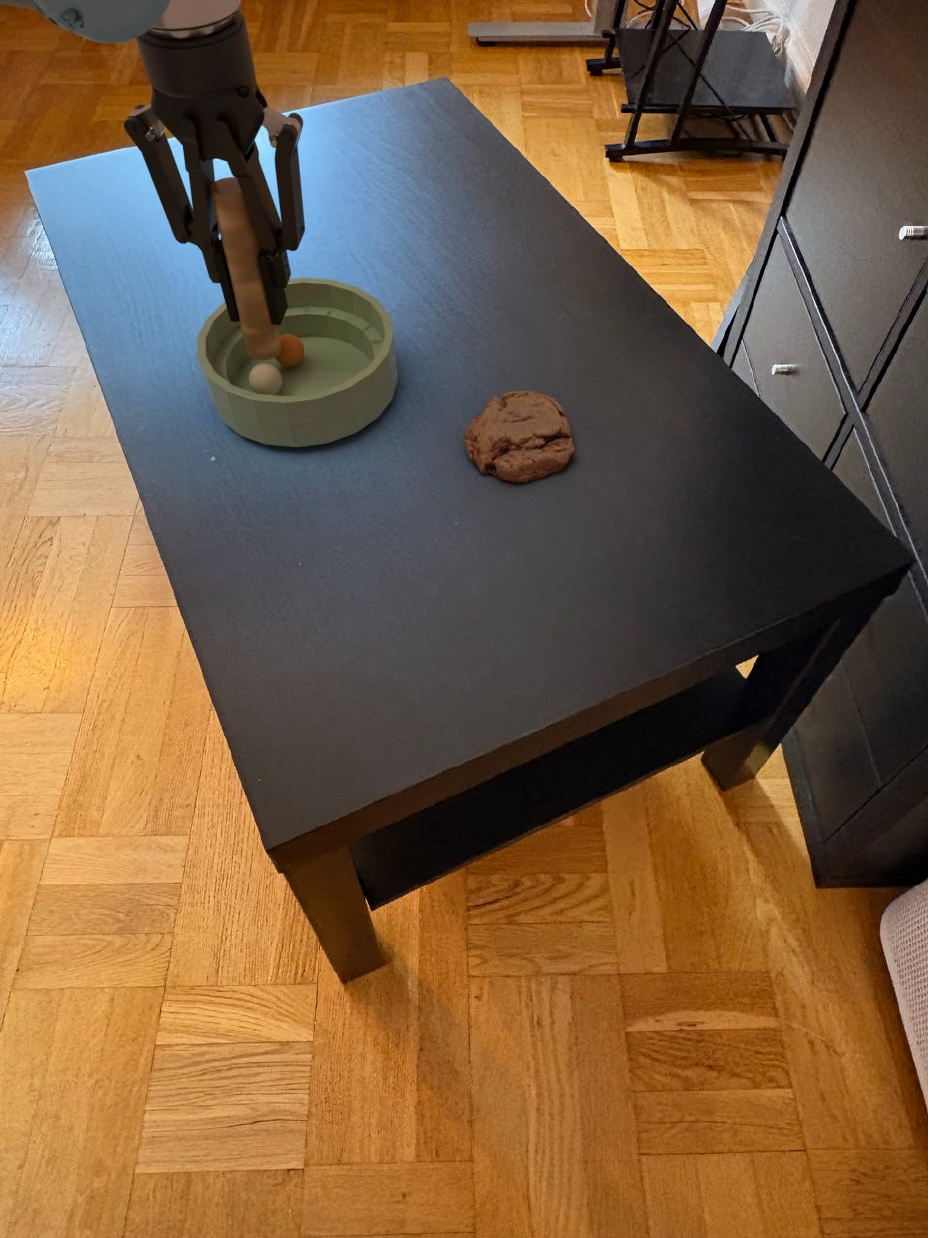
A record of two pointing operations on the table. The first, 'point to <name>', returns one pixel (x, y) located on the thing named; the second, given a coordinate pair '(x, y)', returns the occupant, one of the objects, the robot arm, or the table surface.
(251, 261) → the stick
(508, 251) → the table surface
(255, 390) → the cream ball
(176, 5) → the robot arm
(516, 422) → the cookie
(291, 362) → the orange ball
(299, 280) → the bowl
